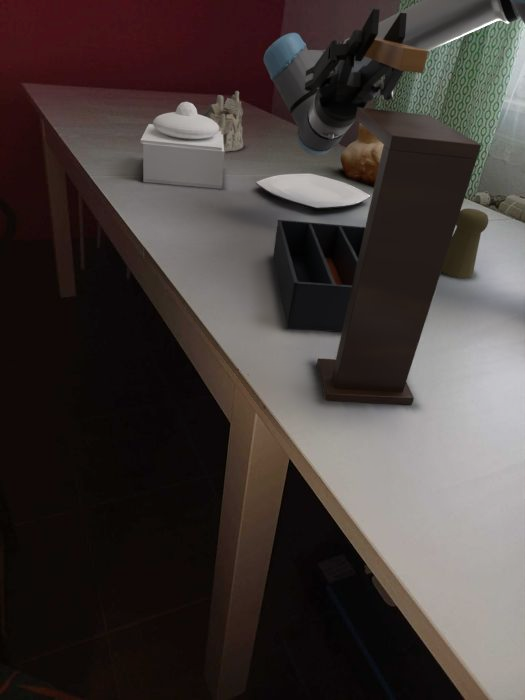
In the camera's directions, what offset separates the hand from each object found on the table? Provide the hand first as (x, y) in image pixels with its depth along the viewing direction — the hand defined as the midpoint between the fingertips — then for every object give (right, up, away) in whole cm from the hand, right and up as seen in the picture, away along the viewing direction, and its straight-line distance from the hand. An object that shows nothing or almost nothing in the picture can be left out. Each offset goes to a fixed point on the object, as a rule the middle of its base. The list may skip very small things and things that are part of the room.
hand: (389, 23), depth 61 cm
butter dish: (-33, +4, +67) cm, 75 cm away
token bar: (0, -4, +1) cm, 4 cm away
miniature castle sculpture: (-28, +23, +96) cm, 103 cm away
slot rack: (-4, -28, +22) cm, 36 cm away
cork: (+20, -23, +35) cm, 46 cm away
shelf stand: (-3, -39, +6) cm, 39 cm away
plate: (-3, -2, +63) cm, 63 cm away
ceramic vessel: (+17, +7, +81) cm, 83 cm away
